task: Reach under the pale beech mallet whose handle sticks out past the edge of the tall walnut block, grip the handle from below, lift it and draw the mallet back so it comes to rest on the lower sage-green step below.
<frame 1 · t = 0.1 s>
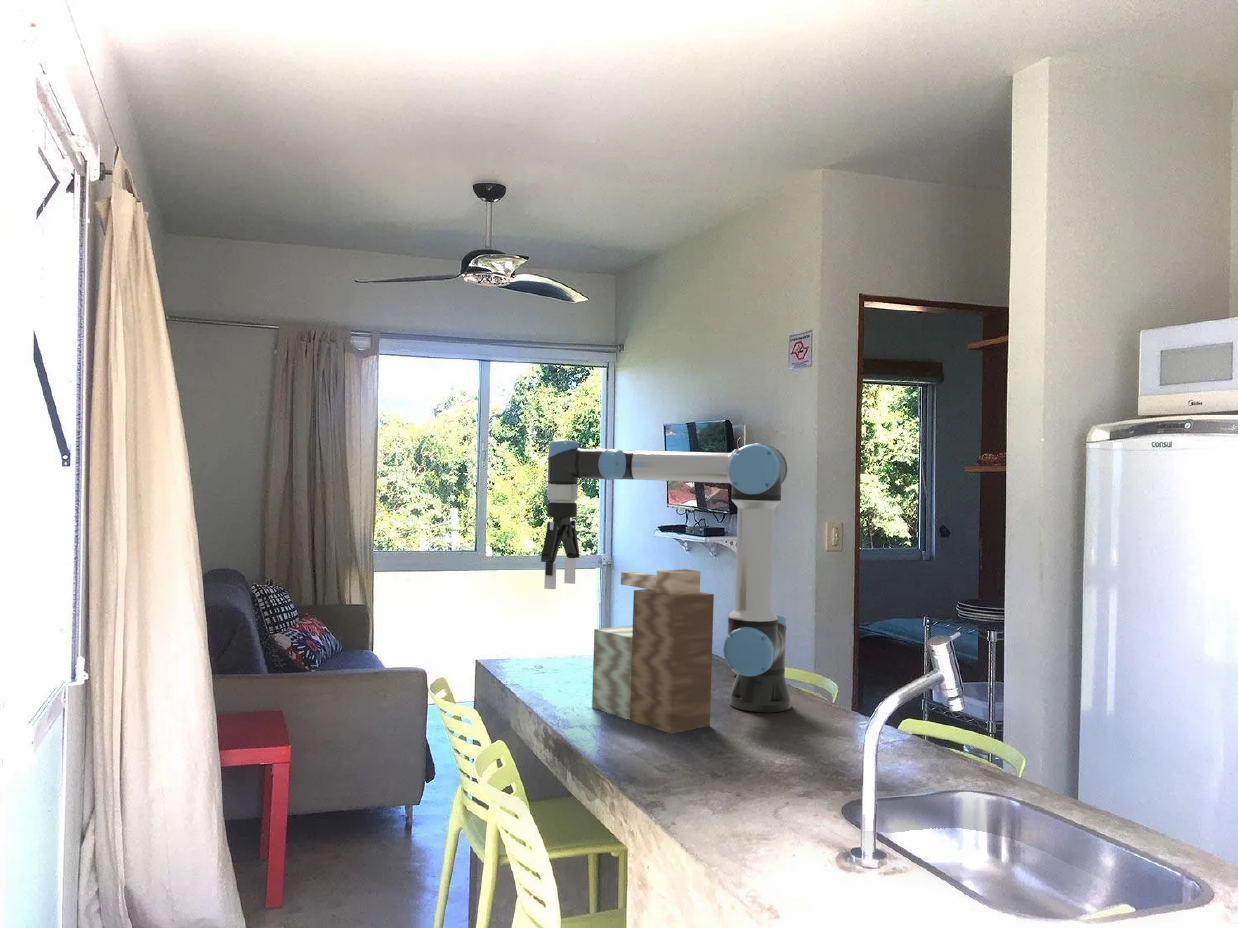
hand: (560, 586, 252), 28 cm above the counter, tool pointing down, fingers open, 13 cm apart
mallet: (678, 592, 228), point 30 cm above the counter, touching step stand
step stand: (669, 722, 229), on the counter
teacup: (753, 677, 285), on the counter
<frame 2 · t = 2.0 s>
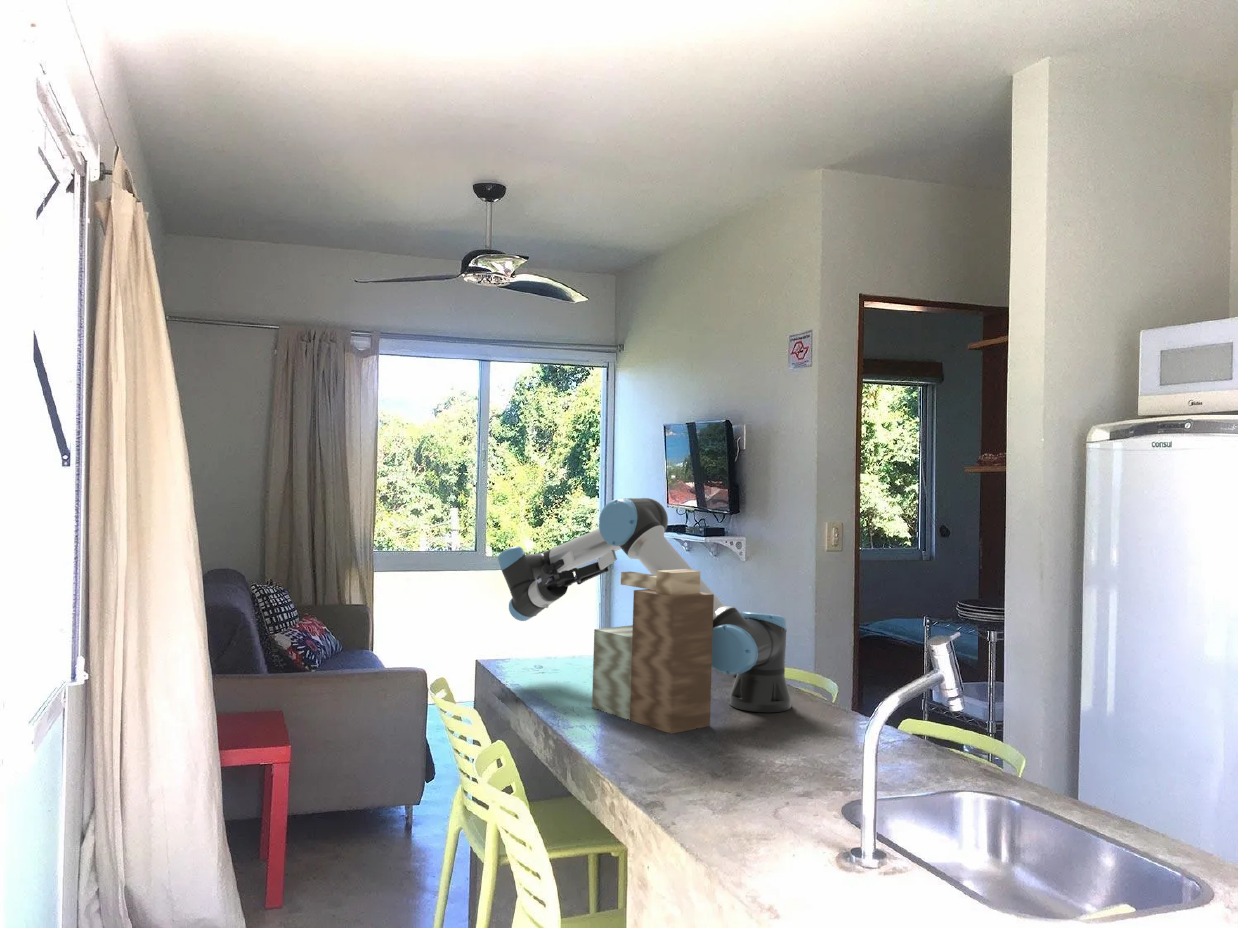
hand: (593, 555, 252), 36 cm above the counter, tool pointing upward, fingers open, 13 cm apart
nothing on the counter moved.
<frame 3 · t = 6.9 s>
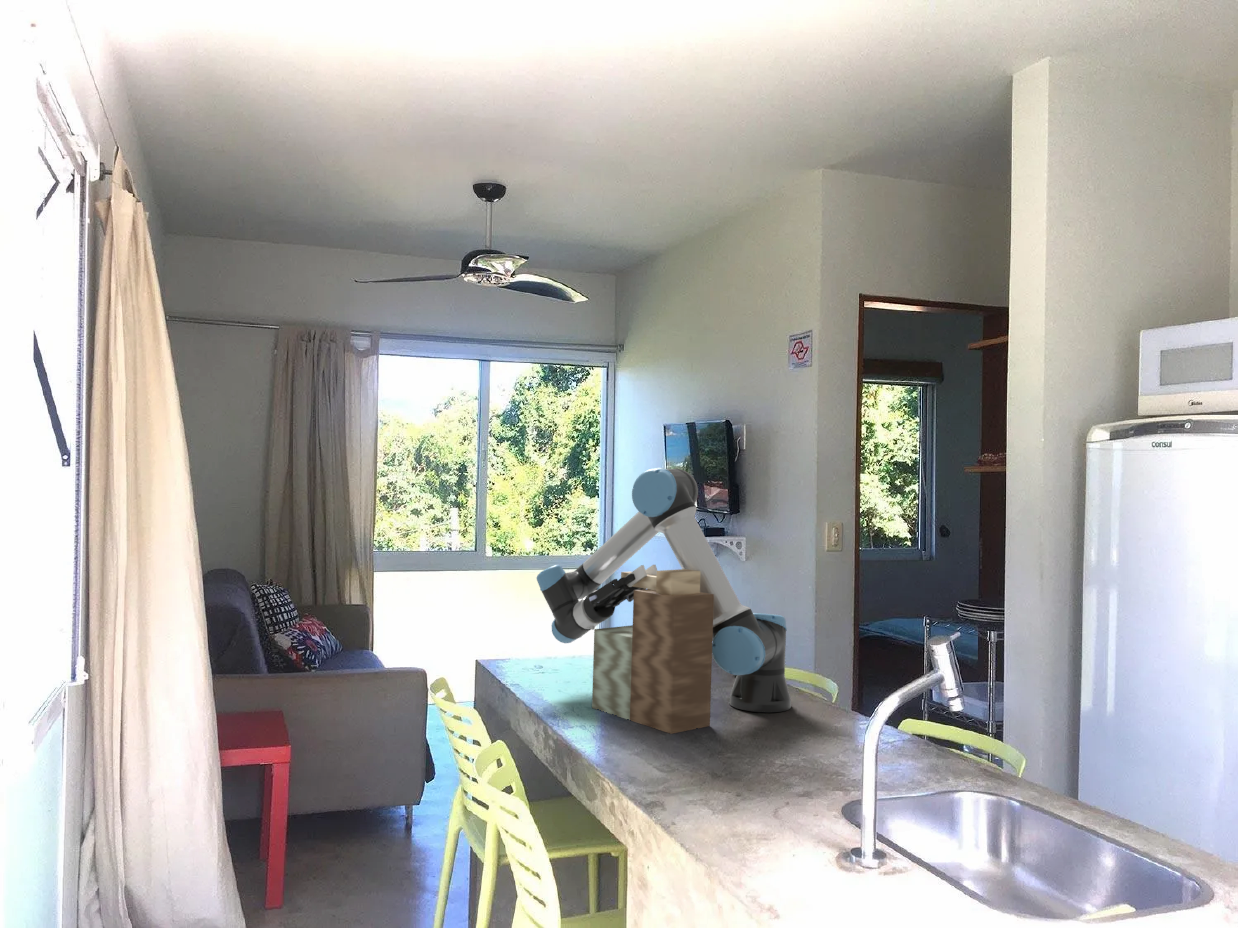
hand: (650, 570, 236), 34 cm above the counter, tool pointing upward, fingers closed on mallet, 3 cm apart
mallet: (678, 592, 228), point 30 cm above the counter, touching gripper
everything else where it was.
when the fingers open (26 cm above the counter, at t = 13.7 s): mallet drops 2 cm, resting on step stand.
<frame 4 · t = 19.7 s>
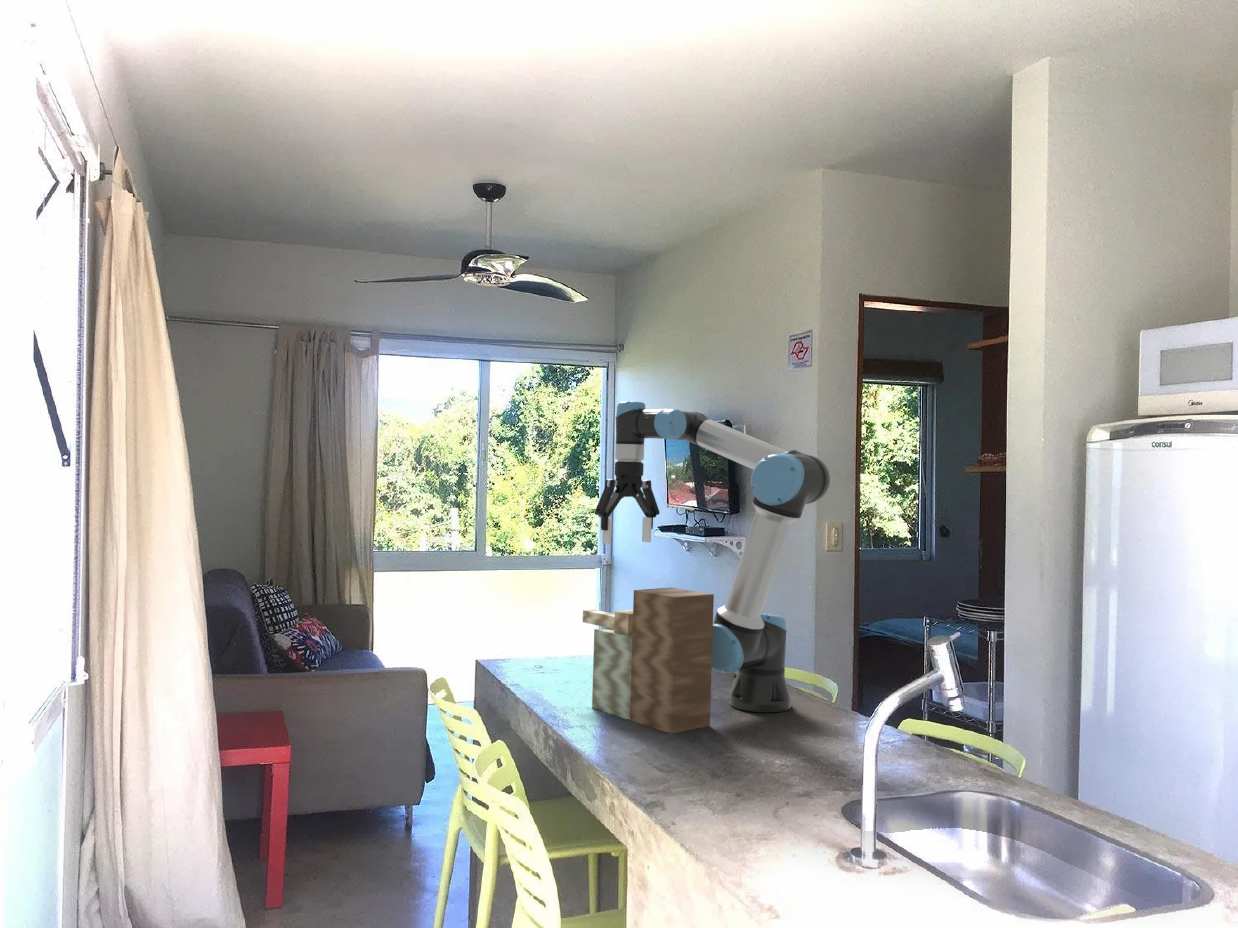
hand: (626, 542, 260), 39 cm above the counter, tool pointing down, fingers open, 13 cm apart
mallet: (635, 632, 239), point 19 cm above the counter, touching step stand
everything else where it was.
at the end: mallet inside the target area (0.1 cm from its centre), point 19.0 cm above the counter; the gripper is holding nothing; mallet tilted 0° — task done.
